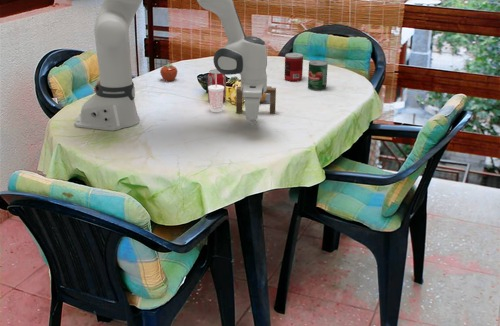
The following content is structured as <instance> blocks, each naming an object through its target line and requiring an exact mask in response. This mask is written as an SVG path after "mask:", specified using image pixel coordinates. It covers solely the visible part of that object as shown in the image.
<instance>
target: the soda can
mask: <svg viewBox="0 0 500 326" xmlns="http://www.w3.org/2000/svg"><path fill="white" fill-rule="evenodd" d="M215 74H217V85H222V86H224V90H223V102H224V101H226V97H227V80H226V79H227V75H225V74H222V73H220V72H219V71H218V70H217V69H216V68H215V69H211V70H209V72H208V74H207V87H208V86H211V85H215ZM207 98H208V101H210V99H209V90H208V89H207Z"/></svg>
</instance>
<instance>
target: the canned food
mask: <svg viewBox="0 0 500 326" xmlns="http://www.w3.org/2000/svg"><path fill="white" fill-rule="evenodd" d="M303 69H304V55H303V53H299V52H288V53H286V54H284V80H285V81H287V82H290V83H291V82H292V83H294V82H301V81H302V79H303V72H304V71H303Z"/></svg>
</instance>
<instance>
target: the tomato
mask: <svg viewBox="0 0 500 326" xmlns="http://www.w3.org/2000/svg"><path fill="white" fill-rule="evenodd" d="M159 73H160V75H161V78H162V79H163V80H164V81H165V82H174V80H175V79H176V78H177V75H178V68H177V67H176V66H174V65H173V64H171V62H167V64H164V65H163V66H162V67H161V68H160V72H159Z"/></svg>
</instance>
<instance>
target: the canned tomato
mask: <svg viewBox="0 0 500 326" xmlns="http://www.w3.org/2000/svg"><path fill="white" fill-rule="evenodd" d="M328 67H329V64H328V62H327V61H325V60H320V59H317V60H316V59H315V60H310V61H308V77H307V78H308V79H307V89H308V90H309V91H315V92H321V91H325V90H327V85H328V84H327V82H328Z"/></svg>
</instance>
